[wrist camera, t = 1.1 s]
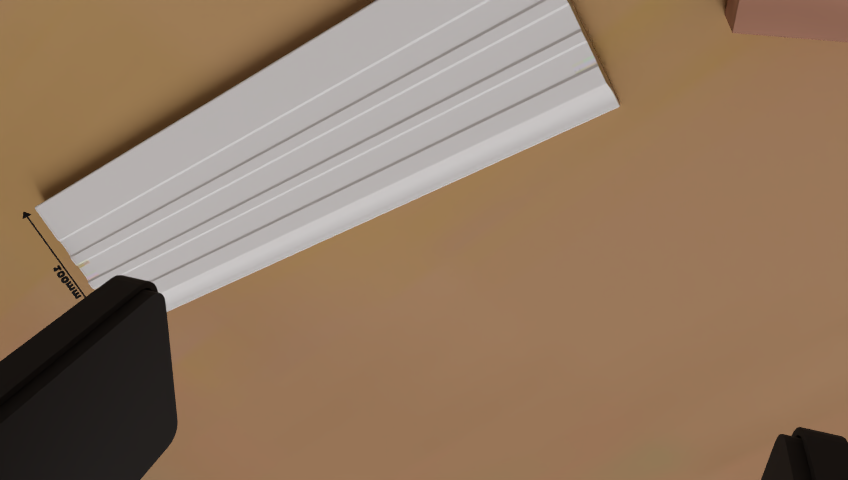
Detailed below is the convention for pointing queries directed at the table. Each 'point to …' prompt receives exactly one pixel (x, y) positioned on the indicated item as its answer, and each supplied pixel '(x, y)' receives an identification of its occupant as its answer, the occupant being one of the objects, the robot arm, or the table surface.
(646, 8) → the table surface
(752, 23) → the pink elongated block
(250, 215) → the baseboard
